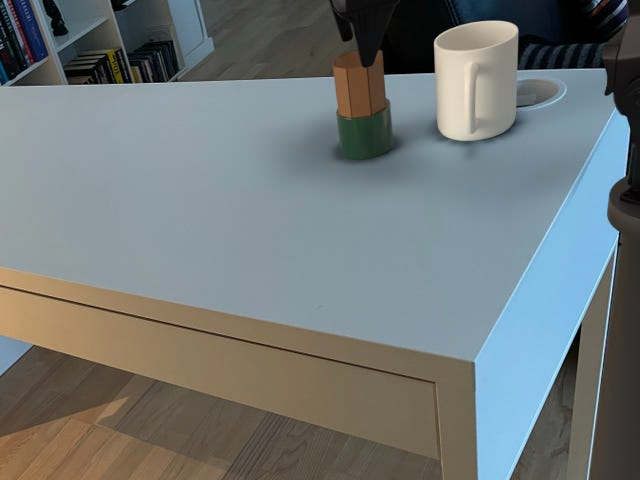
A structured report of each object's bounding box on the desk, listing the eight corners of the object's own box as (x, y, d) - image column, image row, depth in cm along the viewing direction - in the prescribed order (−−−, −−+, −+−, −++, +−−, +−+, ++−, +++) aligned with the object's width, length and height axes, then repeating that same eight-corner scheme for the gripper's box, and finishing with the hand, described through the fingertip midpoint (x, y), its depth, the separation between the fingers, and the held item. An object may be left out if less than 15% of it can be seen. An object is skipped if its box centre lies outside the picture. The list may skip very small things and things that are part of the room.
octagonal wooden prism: (396, 101, 86) (392, 52, 83) (361, 121, 85) (356, 71, 81) (362, 94, 90) (358, 46, 86) (329, 112, 88) (323, 64, 85)
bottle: (404, 142, 89) (400, 72, 84) (366, 164, 87) (359, 94, 82) (367, 131, 93) (361, 65, 88) (330, 152, 92) (321, 86, 87)
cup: (517, 105, 89) (520, 15, 82) (512, 155, 81) (514, 59, 74) (441, 112, 92) (438, 26, 86) (429, 160, 84) (425, 69, 78)
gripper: (247, -98, 82) (271, 48, 92) (274, -66, 68) (299, 103, 77) (350, -129, 81) (363, 22, 91) (401, -104, 66) (410, 73, 76)
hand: (356, 53), depth 84 cm, fingers open, 9 cm apart
